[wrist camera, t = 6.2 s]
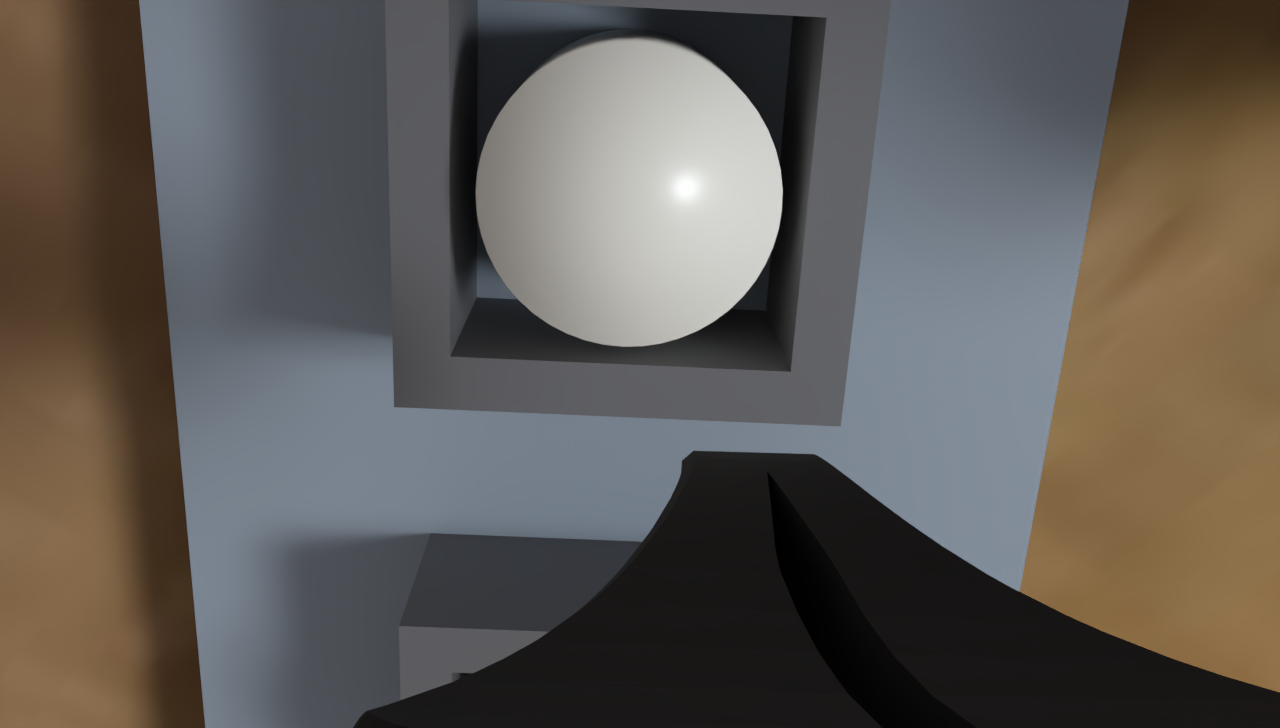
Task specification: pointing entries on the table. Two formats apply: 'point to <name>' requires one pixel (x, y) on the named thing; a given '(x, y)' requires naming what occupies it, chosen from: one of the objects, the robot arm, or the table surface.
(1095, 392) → the table surface
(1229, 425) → the table surface
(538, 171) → the cream plunger
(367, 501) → the panel
